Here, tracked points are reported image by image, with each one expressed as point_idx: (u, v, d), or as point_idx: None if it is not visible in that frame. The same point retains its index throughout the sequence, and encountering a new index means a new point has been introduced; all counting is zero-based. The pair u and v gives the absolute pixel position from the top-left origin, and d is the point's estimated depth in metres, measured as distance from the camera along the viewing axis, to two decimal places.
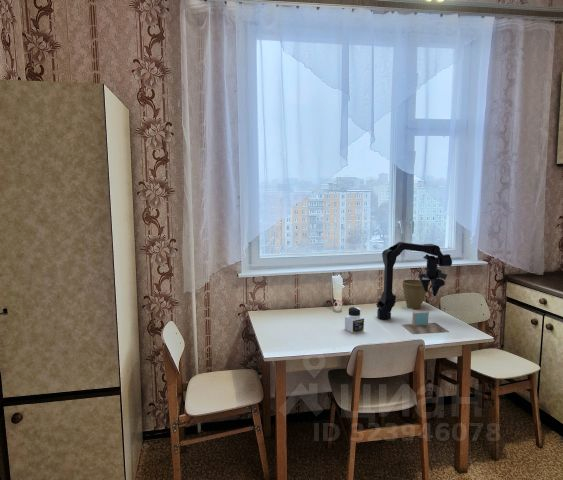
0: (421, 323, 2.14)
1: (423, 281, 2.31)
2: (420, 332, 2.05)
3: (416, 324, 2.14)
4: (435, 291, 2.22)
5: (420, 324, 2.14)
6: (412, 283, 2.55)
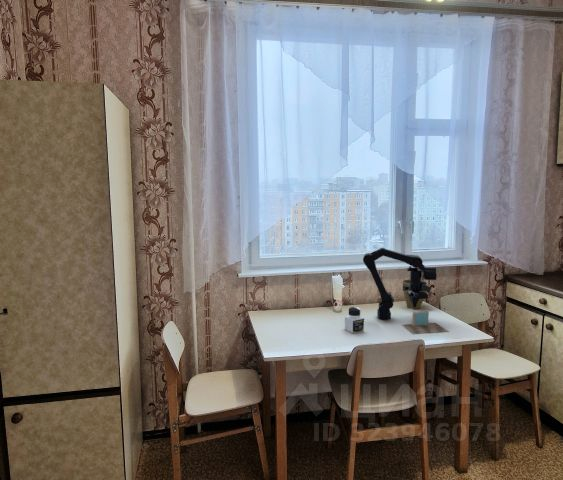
0: (421, 323, 2.14)
1: (411, 296, 2.21)
2: (420, 332, 2.05)
3: (416, 324, 2.14)
4: (415, 302, 2.20)
5: (420, 324, 2.14)
6: None
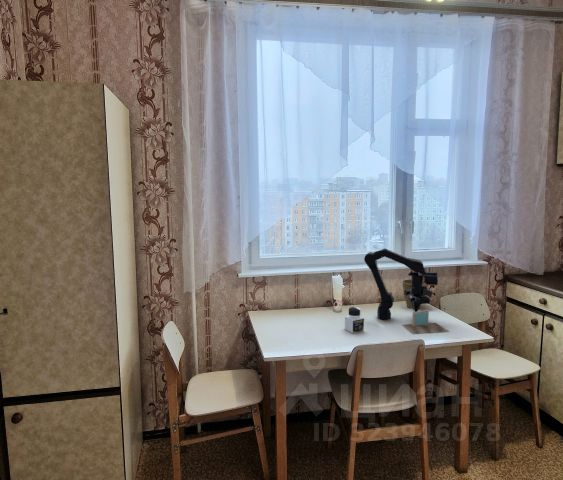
0: (421, 323, 2.14)
1: None
2: (420, 332, 2.05)
3: (416, 324, 2.14)
4: (416, 307, 2.18)
5: (420, 324, 2.14)
6: None
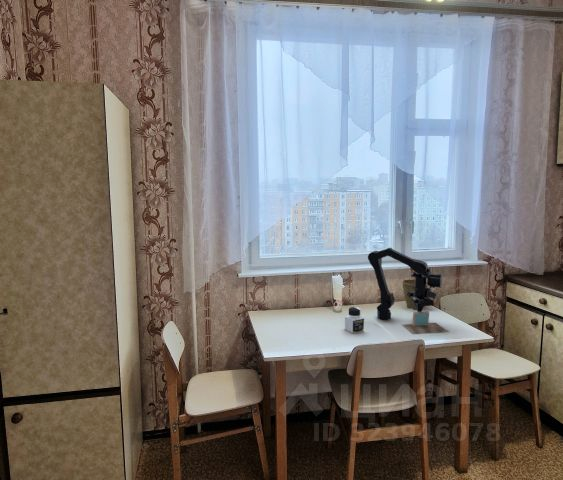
0: (422, 323, 2.14)
1: None
2: (420, 332, 2.05)
3: (416, 324, 2.14)
4: (420, 309, 2.14)
5: (420, 324, 2.14)
6: (412, 283, 2.55)
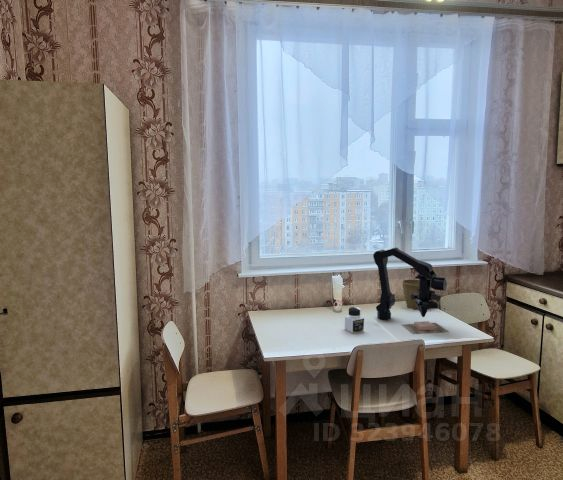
0: None
1: (419, 305, 2.11)
2: (420, 332, 2.05)
3: None
4: (424, 312, 2.10)
5: None
6: (412, 283, 2.55)
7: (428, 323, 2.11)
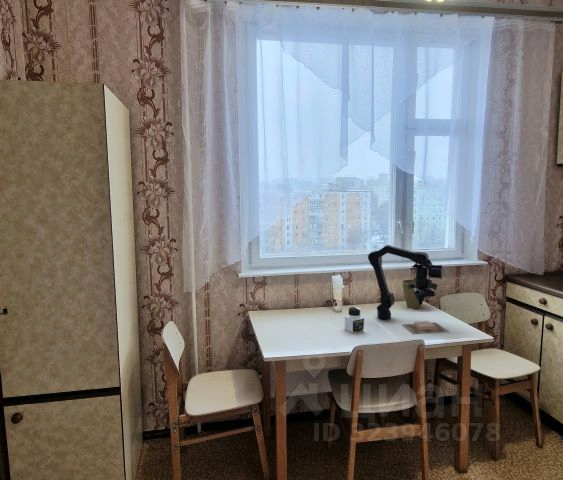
0: None
1: None
2: (420, 332, 2.05)
3: None
4: (421, 300, 2.13)
5: None
6: None
7: (428, 323, 2.11)
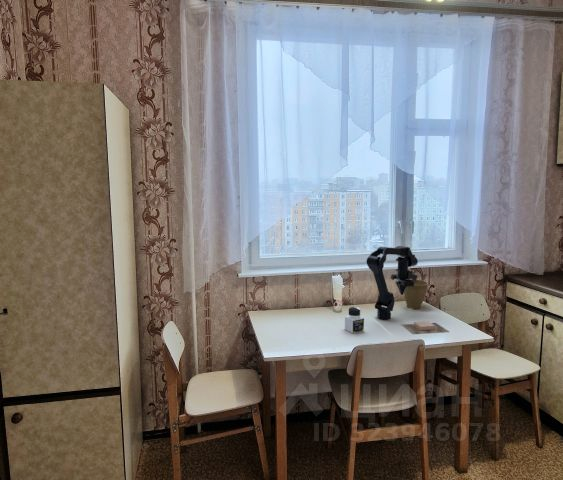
0: None
1: None
2: (420, 332, 2.05)
3: None
4: (402, 290, 2.33)
5: None
6: None
7: (428, 323, 2.11)
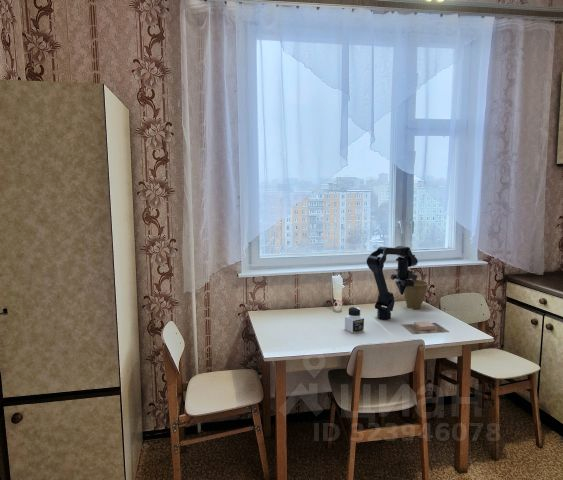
0: None
1: None
2: (420, 332, 2.05)
3: None
4: (402, 290, 2.33)
5: None
6: None
7: (428, 323, 2.11)
